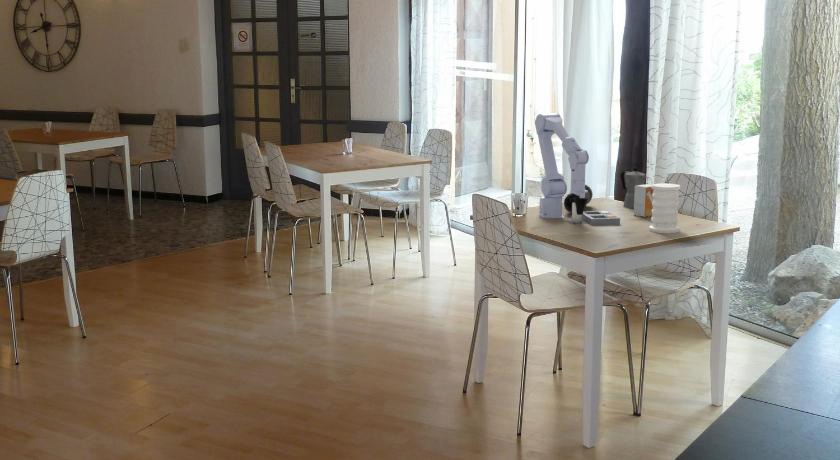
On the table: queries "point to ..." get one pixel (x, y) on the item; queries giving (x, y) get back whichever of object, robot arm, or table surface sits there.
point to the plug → (575, 215)
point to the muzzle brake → (587, 195)
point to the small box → (643, 200)
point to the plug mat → (577, 223)
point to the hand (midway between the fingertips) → (577, 212)
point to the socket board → (600, 218)
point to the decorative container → (665, 208)
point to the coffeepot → (631, 185)
